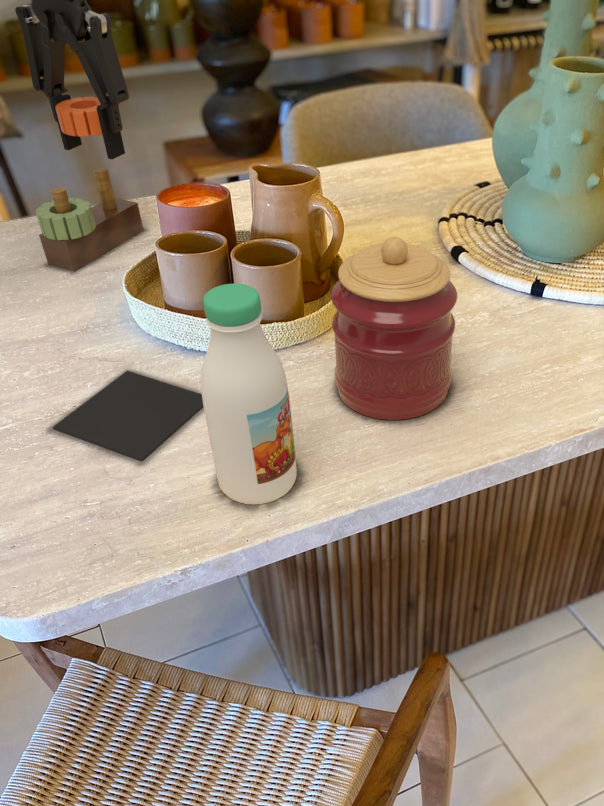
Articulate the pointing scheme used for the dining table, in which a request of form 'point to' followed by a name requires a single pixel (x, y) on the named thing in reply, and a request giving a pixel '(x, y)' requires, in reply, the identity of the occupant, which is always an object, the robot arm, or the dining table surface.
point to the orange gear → (79, 116)
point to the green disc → (66, 220)
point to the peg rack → (111, 230)
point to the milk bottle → (246, 400)
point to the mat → (132, 415)
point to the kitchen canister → (393, 330)
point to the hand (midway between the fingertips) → (94, 151)
